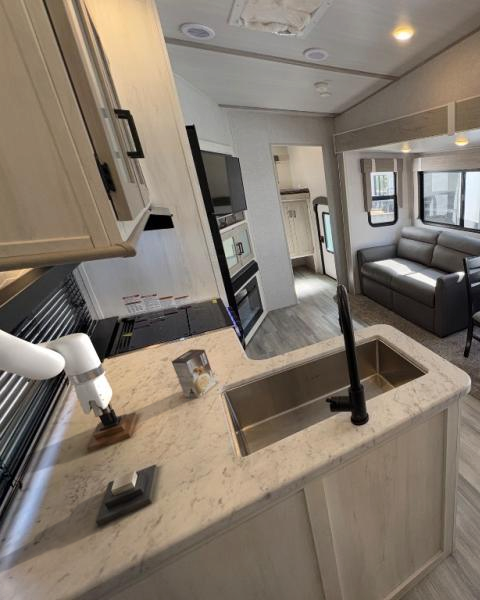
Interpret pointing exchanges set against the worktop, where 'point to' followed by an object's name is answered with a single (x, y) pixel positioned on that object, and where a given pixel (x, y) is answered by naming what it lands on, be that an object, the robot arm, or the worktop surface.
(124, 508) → the black stepped pedestal
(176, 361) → the coffee box
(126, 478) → the white key
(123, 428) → the brown stepped pedestal
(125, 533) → the worktop surface
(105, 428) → the black key
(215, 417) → the worktop surface
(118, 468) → the worktop surface
